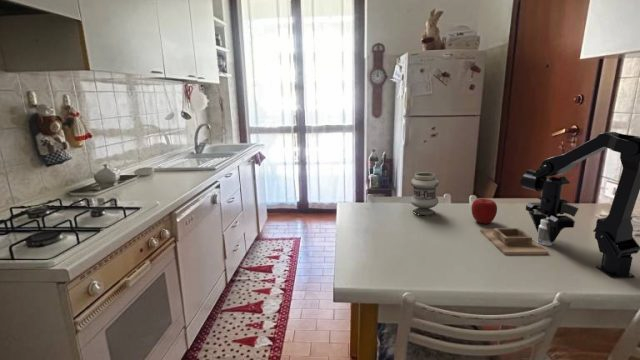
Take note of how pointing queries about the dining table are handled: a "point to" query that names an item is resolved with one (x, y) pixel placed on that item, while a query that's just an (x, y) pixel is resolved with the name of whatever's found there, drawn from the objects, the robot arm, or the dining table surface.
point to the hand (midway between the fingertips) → (545, 237)
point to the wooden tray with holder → (513, 241)
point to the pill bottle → (543, 233)
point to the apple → (484, 210)
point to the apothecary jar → (424, 193)
